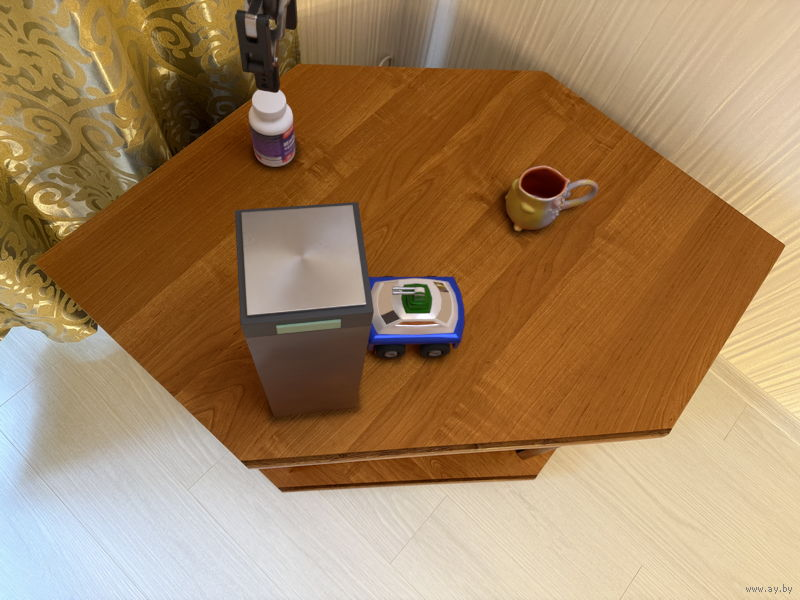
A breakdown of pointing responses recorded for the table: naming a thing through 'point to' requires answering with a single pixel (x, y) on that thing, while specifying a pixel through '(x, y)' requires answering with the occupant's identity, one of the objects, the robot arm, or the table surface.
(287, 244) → the tall grey box
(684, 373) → the table surface
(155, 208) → the table surface
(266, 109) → the pill bottle
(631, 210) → the table surface
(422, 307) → the toy car
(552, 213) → the mug
